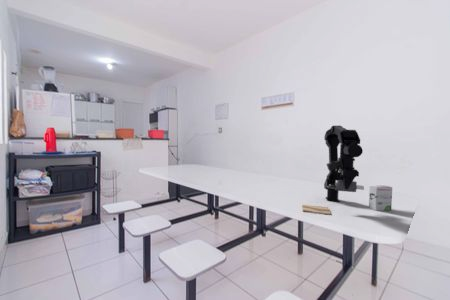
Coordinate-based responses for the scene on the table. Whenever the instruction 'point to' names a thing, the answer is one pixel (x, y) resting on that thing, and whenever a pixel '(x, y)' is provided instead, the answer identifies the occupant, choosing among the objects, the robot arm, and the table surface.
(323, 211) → the light brown wooden board
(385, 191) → the ink box
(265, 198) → the table surface
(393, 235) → the table surface
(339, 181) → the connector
